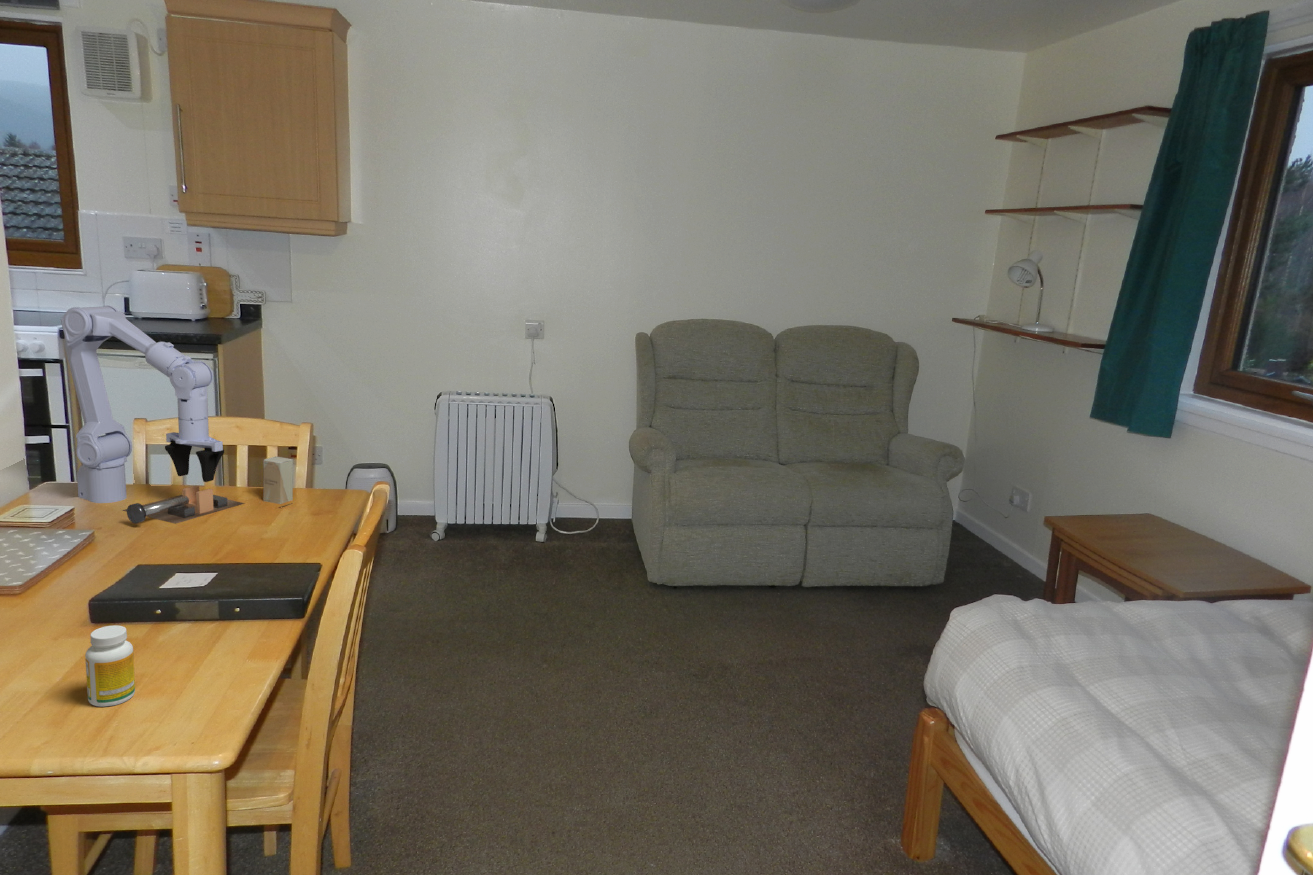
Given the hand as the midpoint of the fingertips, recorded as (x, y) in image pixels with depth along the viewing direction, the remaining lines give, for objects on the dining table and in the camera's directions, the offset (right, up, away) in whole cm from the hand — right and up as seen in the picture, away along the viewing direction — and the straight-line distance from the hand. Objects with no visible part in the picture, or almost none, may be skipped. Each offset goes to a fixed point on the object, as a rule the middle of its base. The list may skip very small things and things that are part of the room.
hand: (195, 478), depth 184 cm
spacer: (0, -7, +2) cm, 7 cm away
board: (-4, -8, +3) cm, 9 cm away
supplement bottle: (+29, -26, -72) cm, 82 cm away
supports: (0, -7, +2) cm, 7 cm away
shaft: (-4, -8, -7) cm, 11 cm away
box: (+12, -7, +13) cm, 19 cm away
